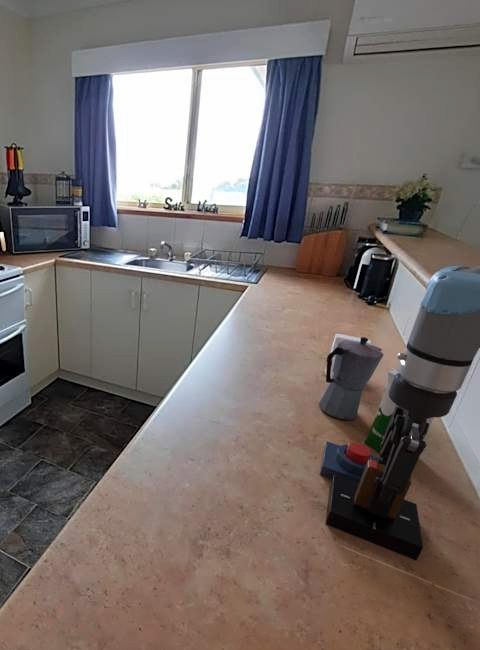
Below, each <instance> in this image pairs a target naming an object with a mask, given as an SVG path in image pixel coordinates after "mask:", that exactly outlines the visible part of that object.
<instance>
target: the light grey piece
mask: <svg viewBox="0 0 480 650" xmlns="http://www.w3.org/2000/svg"><path fill="white" fill-rule="evenodd" d="M344 340H349V341H358V342H360V340H361V337H357V336H352V335H347V334H342V333H335V335H334V338H333V342H332V345H331V349H330V353H331V352H333V351H334V350H335V348H337V347H338V343H340V342H342V341H344ZM366 344H368V345H372V341H371V339H368V341H367V343H366ZM330 353H329V354H330ZM335 357H336V355H334V357H333V358H332V365H331V372H330V378H331V379H332V376H333V373H334V372H333V367H334V362H335ZM326 369H327V365H326V366H325V370H324V374H325V375H326Z"/></svg>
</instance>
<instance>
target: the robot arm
mask: <svg viewBox="0 0 480 650" xmlns="http://www.w3.org/2000/svg"><path fill="white" fill-rule="evenodd" d="M419 306H420V307H419V310H418V311H417V315H416V318H415V320H414V323H413V326H412V329H411V332H410V334H409V337H408V340H407V343H406V347H405V348H404V351H405V352H399V353H397V356H396V358H397V359H398V360H400V362H399V365H398V366H397V369H398V372H399V373H397V374H396V375H395V377H394V379H393V382H392V385H391V387H390V390H389V397H390V399H391V400H392V401H393V402H394V403H395V404H396V406H395V409H394V412H393V414H392V417H391V420H390V422H389V425H388V427H387V430H386V433H385V435H384V438H383V440H382V443H381V444H380V448H382V450H381V451H380V453H378V455H379V458H380V459H378V461H377V463H380V464H383V465H386V467H385V470H384V473H383V476H382V478H380V477H377V476H376V479H375V482H377V485H376V487H375V490H374V492H373V495H372V497H371V500H370V502H369V504H368V507H367V511H368V512H371V513H373V514H376V515H379V516H382V517H384V518H386V517H387V515H388V513H389V511H390V508H391V506H392V504H393V501H394V499H395V497H396V494H397V493H400V494H403V492H404V489H405V487H406V485H407V483H408V480H409V478H410V476H411V477H412V474H413V472H414V469H415V467H416V465H417V462H418V461H419V458H420V456H421V455H422V453H423V452H424V450H425V449H426V447H427V443H426V441H425V440H424V441H422V438H423V436H424V435H425V434H426V433H427V434H428V432H429V430H428V428H429V429H430V427H429V423H426V422H427V419H428V418H433V417H434V418H443V417H445V416H447V415H449V413H450V411H451V409H452V407H453V405H454V402H455V400H456V398H457V396H458V392H457V391H459V390H461V389H462V386H463V384H464V382H465V380H466V377H467V376H468V373H469V371H470V368H471V366H472V364H473V361H474V359H475V357H476V355H477V354H478V352H479V349H480V265H477V266H475V267H472V268H470V267H468V266H463V265H462V266H460V265H451V266H446V267H444V268H442V269H440V270H438V271H436V272H435V273H434V274H433V275H432V276H431V277H430V279H429V280H428V282H427V285H426V288H425V294H424V296H423V298H422V299H421V301H420V303H419ZM434 418H433V419H434ZM427 431H428V432H427ZM427 434H426V435H427Z"/></svg>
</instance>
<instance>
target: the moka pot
mask: <svg viewBox="0 0 480 650" xmlns="http://www.w3.org/2000/svg"><path fill="white" fill-rule="evenodd" d="M360 338H361V340H360V342H358V341H349V340H344V341H342V342H340V343H338V347H337V348H335V350H334V351H333V352H331V351H330V352H331V353H329V354H328V355H327V356H326V366H327V369H326V368H325V370H326V374H325V382H326V383H328V385H327V387H326V389H325V390H324V393H323V395H322V396H321V398H320V399H319V402H318V406H319V408H320V409H321V411H322V412H323V413H325V414H327V415H329V416H331V417H334V418H336V419H339V420H345V421H352V420H355V419H356V418H357V416H358V412H359V407H360V403H361V399H362V395H363V390H364V389H365V387H366V384H367V383H368V382H370V380H371V378H372V376H373V374H374V373H375V371H376V369H377V368H378V366H379V364H380V362H381V361H382V359H383V357H384V353H383V352H382V351H383V349H382V348H381V347H378V346H376V345H373V344H370V345H368V344H366V343H367V341H368V340H369V338H368V337H364V336H361V337H360ZM334 355H336V357H335V362H334V367H333V372H334V373H333V376H332V379H331V378H330V372H331V365H332V358H333V357H334Z"/></svg>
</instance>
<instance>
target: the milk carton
mask: <svg viewBox="0 0 480 650" xmlns="http://www.w3.org/2000/svg"><path fill="white" fill-rule="evenodd" d="M397 373H399V372H398V368H397V369H394V370H388V371H387V375H386V376H387V377H386V385H385V386H386V387H385V389H384V392H383V395H382V396H381V401H380V403H379V406H378V408H377V411H376V413H375V416H374V419H373V422H372V424H371V426H370V429H369V431H368V433H367V435H366V437H365V440H364V443H365V444H366V445H367V446H368V447H370V448H371V449H373V450H374V451H375V452H377V453H378V454H379V453H380V451H381V450H382V448H380V444H381V443H382V440H383V438H384V435H385V433H386V430H387V427H388V425H389V422H390V420H391V417H392V414H393V412H394V409H395V406H396V404H395V403H394V402H393V401H392V400H391V399H390V397H389V390H390V387H391V385H392V382H393V379H394V377H395V375H396V374H397ZM434 418H435V417H433V418H428V419H427V422H426V423H429V428H428V431H427V433H426V434H425V435H424V436H423V438H422V441H425V438H426V436H427V435H428V432H429V429H430V428H431V425H432V423H433V421H434Z"/></svg>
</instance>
